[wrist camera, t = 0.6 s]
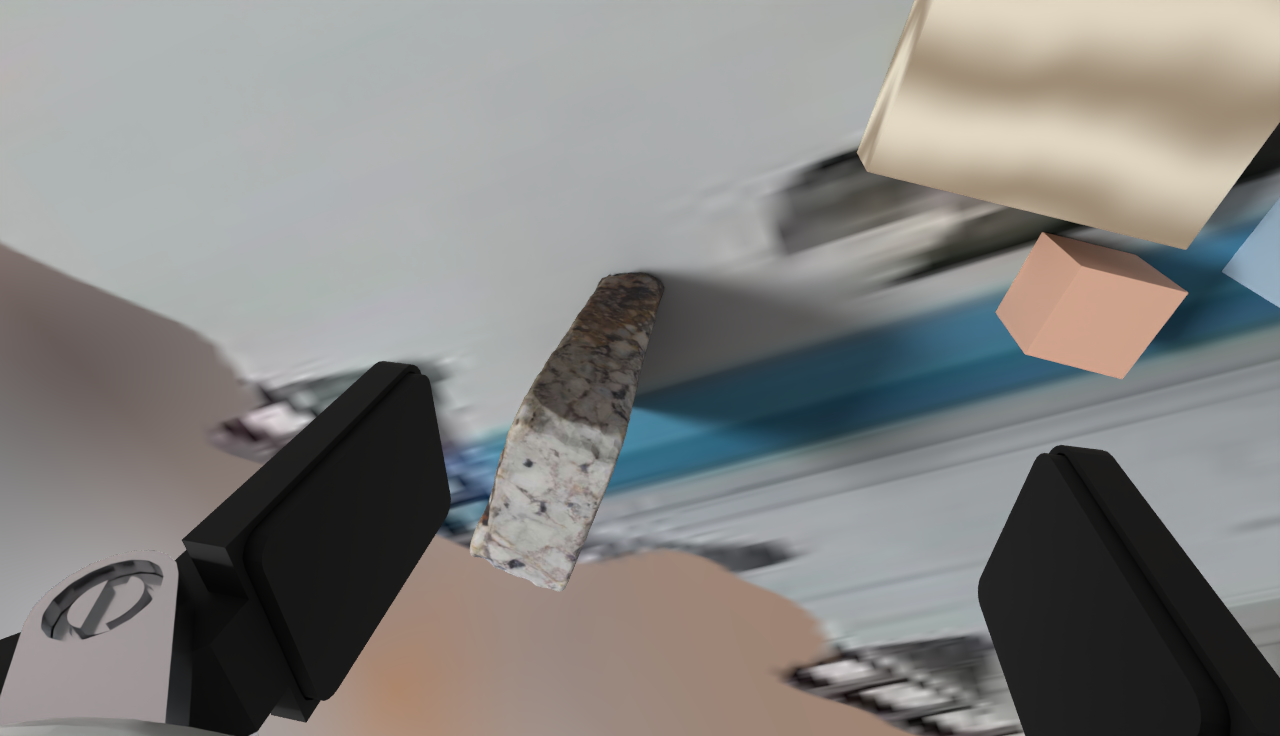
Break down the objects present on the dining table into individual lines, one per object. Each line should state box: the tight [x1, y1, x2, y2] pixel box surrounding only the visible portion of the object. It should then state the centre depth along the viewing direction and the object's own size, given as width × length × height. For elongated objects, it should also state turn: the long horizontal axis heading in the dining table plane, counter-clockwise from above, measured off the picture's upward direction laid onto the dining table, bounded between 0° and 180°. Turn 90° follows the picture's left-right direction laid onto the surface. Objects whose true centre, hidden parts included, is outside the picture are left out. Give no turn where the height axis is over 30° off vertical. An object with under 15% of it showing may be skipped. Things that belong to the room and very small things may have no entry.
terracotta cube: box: [996, 232, 1188, 379], centre depth 38 cm, size 6×6×6 cm
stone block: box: [470, 273, 664, 591], centre depth 41 cm, size 13×7×20 cm, turn 166°
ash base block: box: [857, 0, 1280, 250], centre depth 33 cm, size 14×18×5 cm
